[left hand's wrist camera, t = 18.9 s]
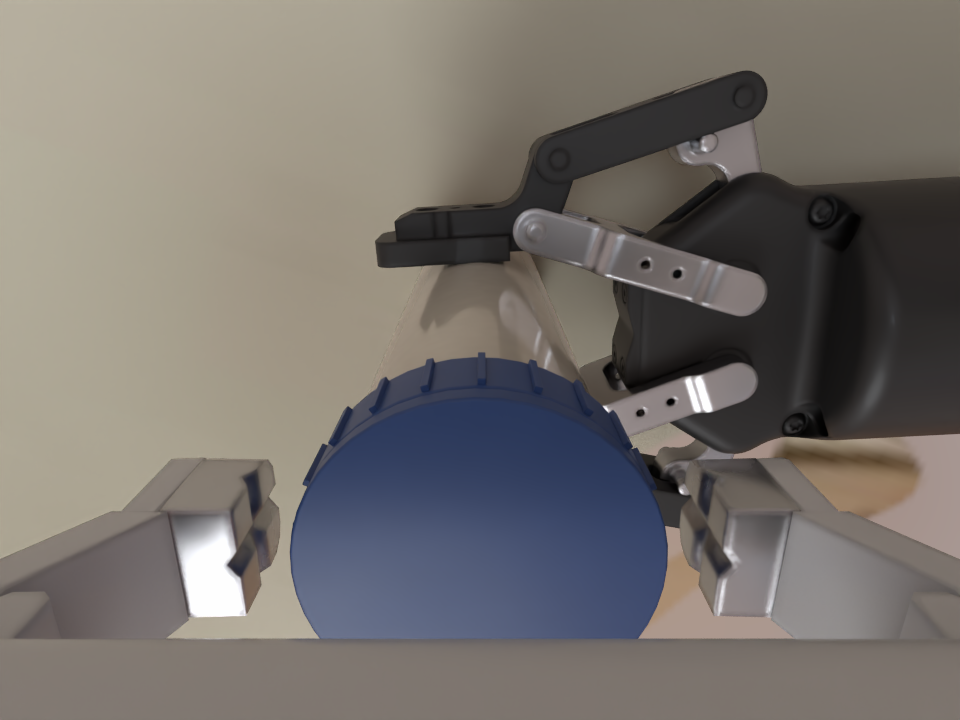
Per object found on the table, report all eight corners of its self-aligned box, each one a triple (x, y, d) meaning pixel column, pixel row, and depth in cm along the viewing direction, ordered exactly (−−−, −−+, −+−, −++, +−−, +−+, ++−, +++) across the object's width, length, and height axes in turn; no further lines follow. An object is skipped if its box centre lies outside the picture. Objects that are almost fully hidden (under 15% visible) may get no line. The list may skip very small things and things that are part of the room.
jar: (553, 316, 25) (673, 612, 10) (447, 354, 26) (397, 693, 10) (514, 206, 24) (581, 346, 8) (402, 250, 24) (264, 459, 9)
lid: (250, 431, 10) (207, 486, 8) (576, 294, 9) (595, 327, 7) (402, 673, 11) (391, 755, 10) (687, 576, 10) (721, 648, 9)
